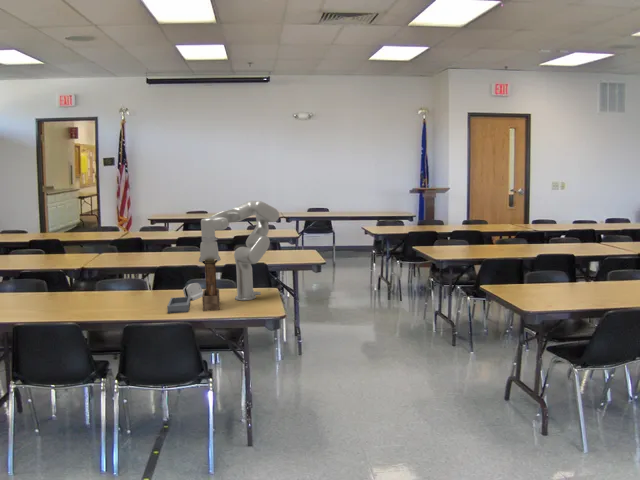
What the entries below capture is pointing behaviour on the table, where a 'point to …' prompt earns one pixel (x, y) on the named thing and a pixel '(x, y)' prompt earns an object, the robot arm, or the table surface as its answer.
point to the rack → (210, 301)
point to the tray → (178, 305)
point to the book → (210, 278)
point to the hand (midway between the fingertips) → (210, 271)
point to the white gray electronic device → (193, 291)
